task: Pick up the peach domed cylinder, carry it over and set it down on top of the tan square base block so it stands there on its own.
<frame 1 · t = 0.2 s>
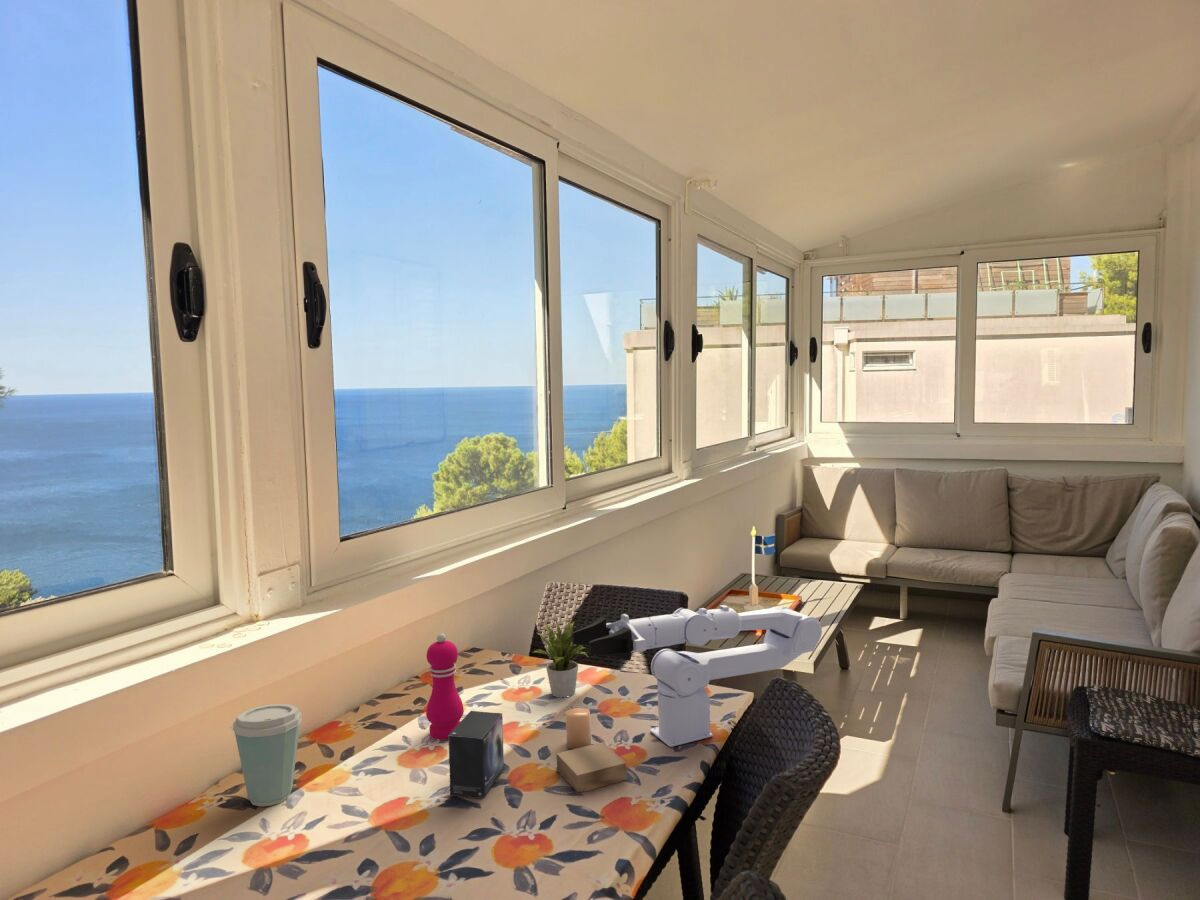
hand: (581, 643, 141), 21 cm above the table, tool horizontal, fingers open, 7 cm apart
pepper mill: (446, 734, 155), on the table
small box: (478, 783, 135), on the table
house plant: (565, 696, 172), on the table
disposable coffee cup: (272, 798, 132), on the table
tan square base block: (591, 774, 136), on the table
peach domed cylinder: (578, 744, 148), on the table
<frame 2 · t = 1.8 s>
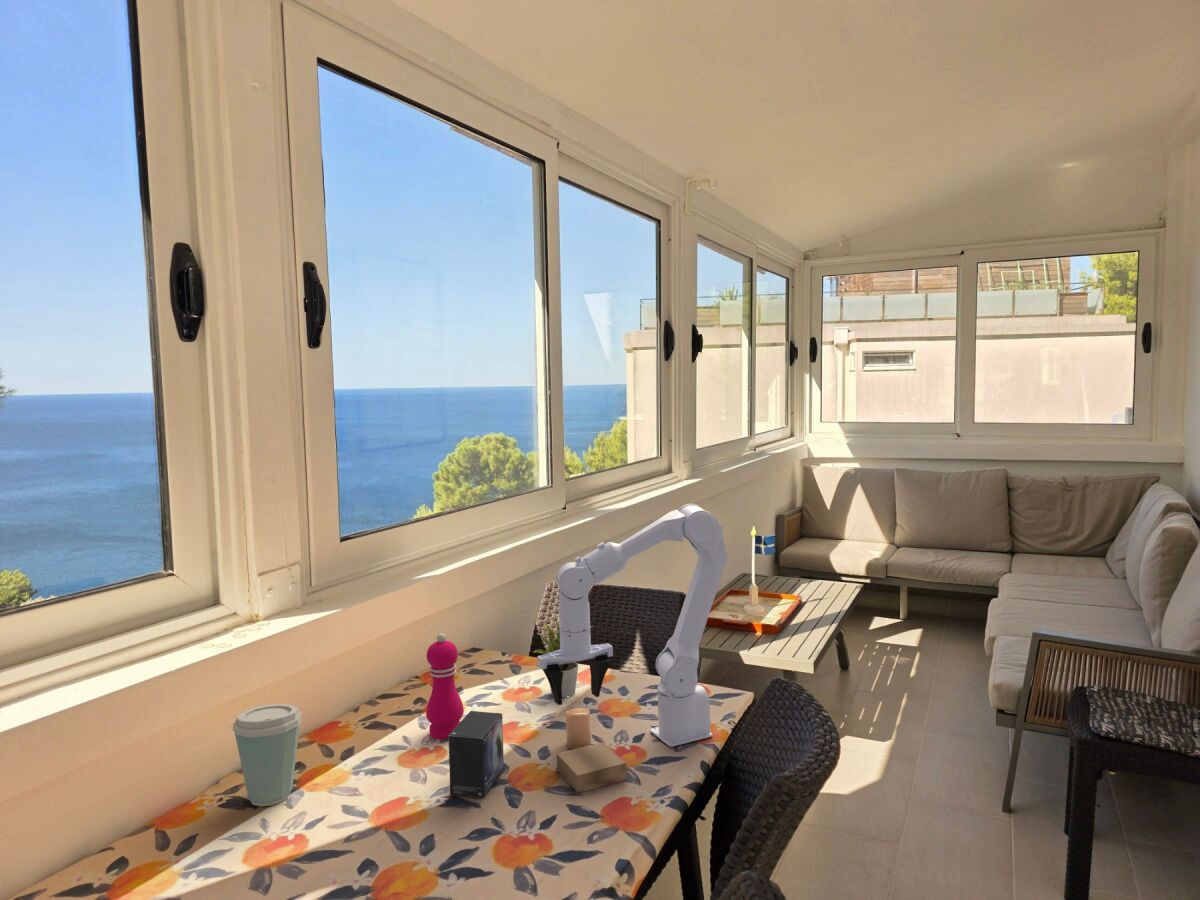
hand: (577, 699, 148), 9 cm above the table, tool pointing down, fingers open, 7 cm apart
nothing on the table moved.
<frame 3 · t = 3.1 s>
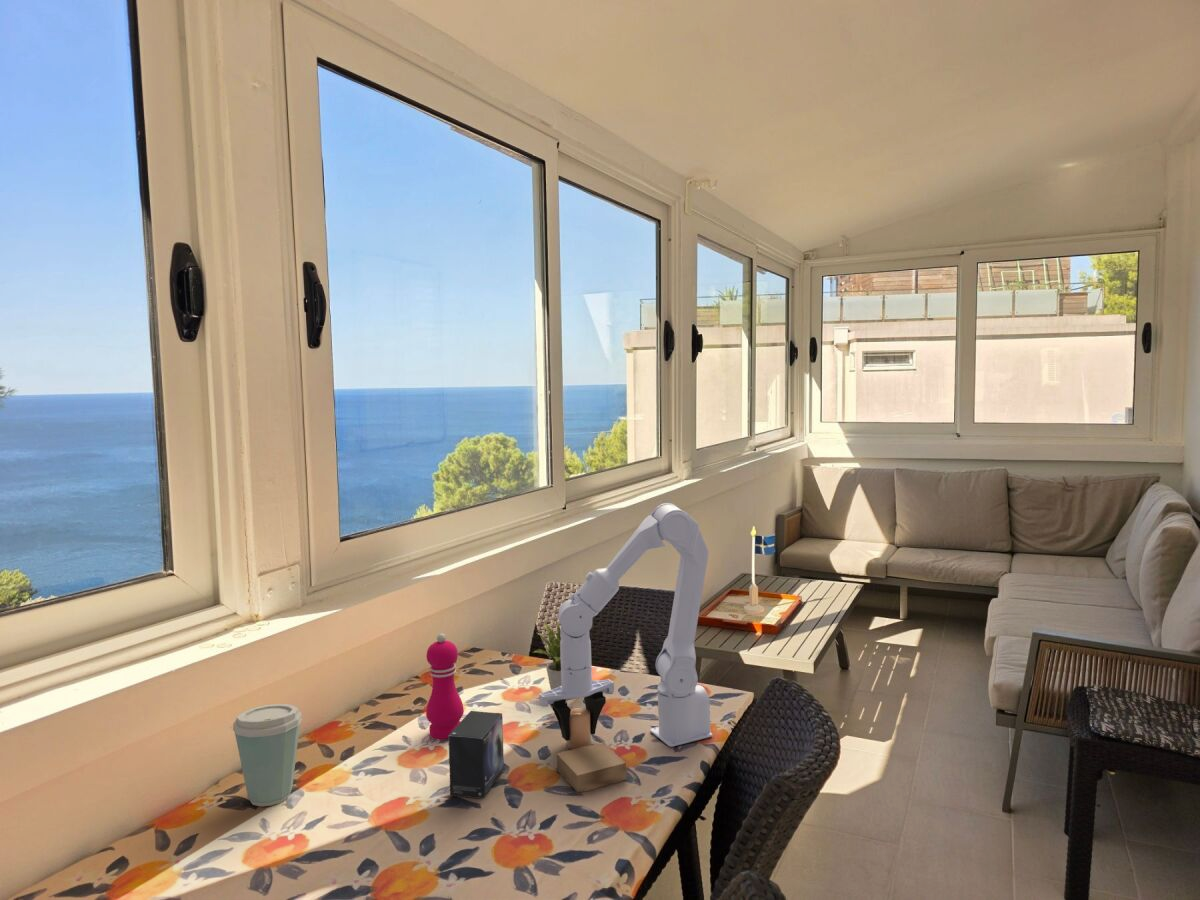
hand: (578, 735, 148), 2 cm above the table, tool pointing down, fingers closed on peach domed cylinder, 5 cm apart
peach domed cylinder: (578, 743, 148), on the table, touching gripper
everything else where it was.
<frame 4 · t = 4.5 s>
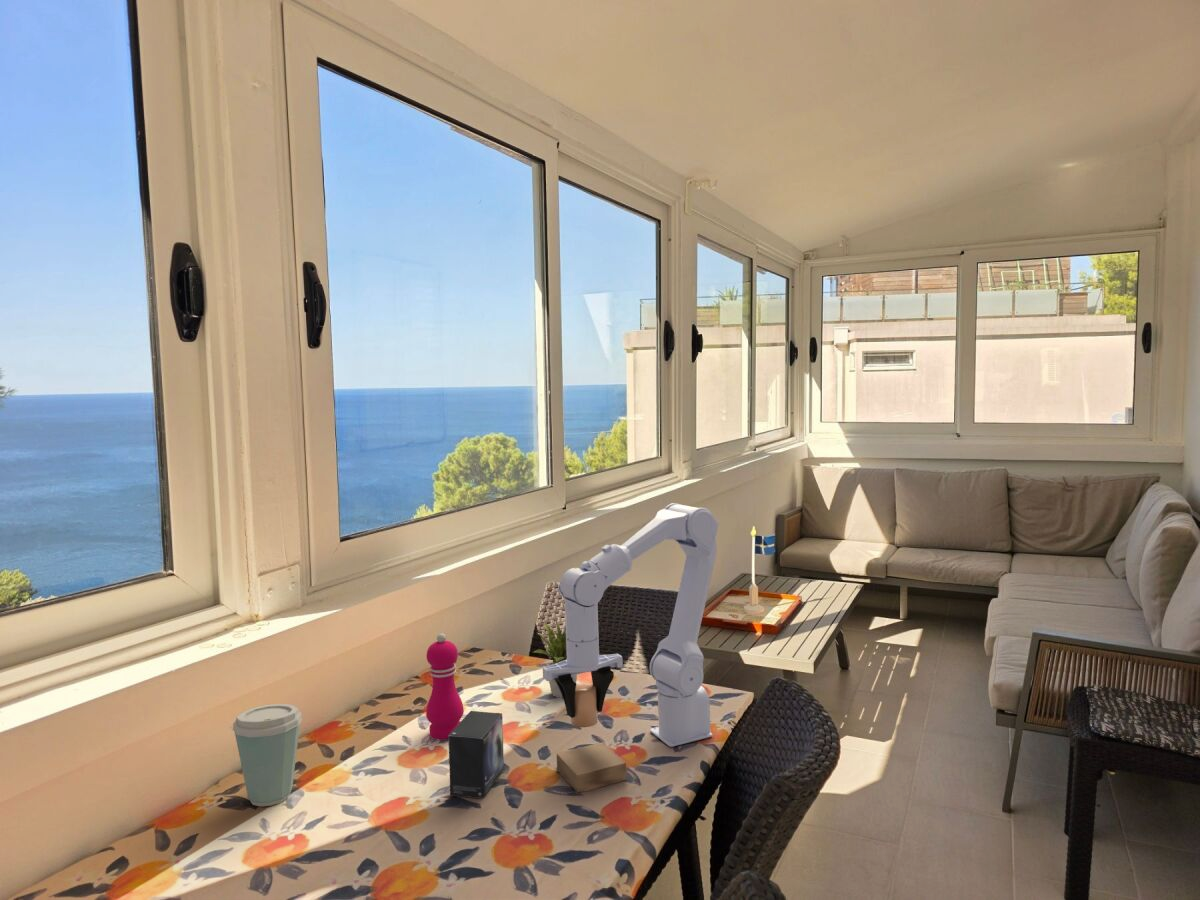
hand: (584, 712, 139), 9 cm above the table, tool pointing down, fingers closed on peach domed cylinder, 5 cm apart
peach domed cylinder: (584, 722, 140), point 8 cm above the table, touching gripper
everything else where it was.
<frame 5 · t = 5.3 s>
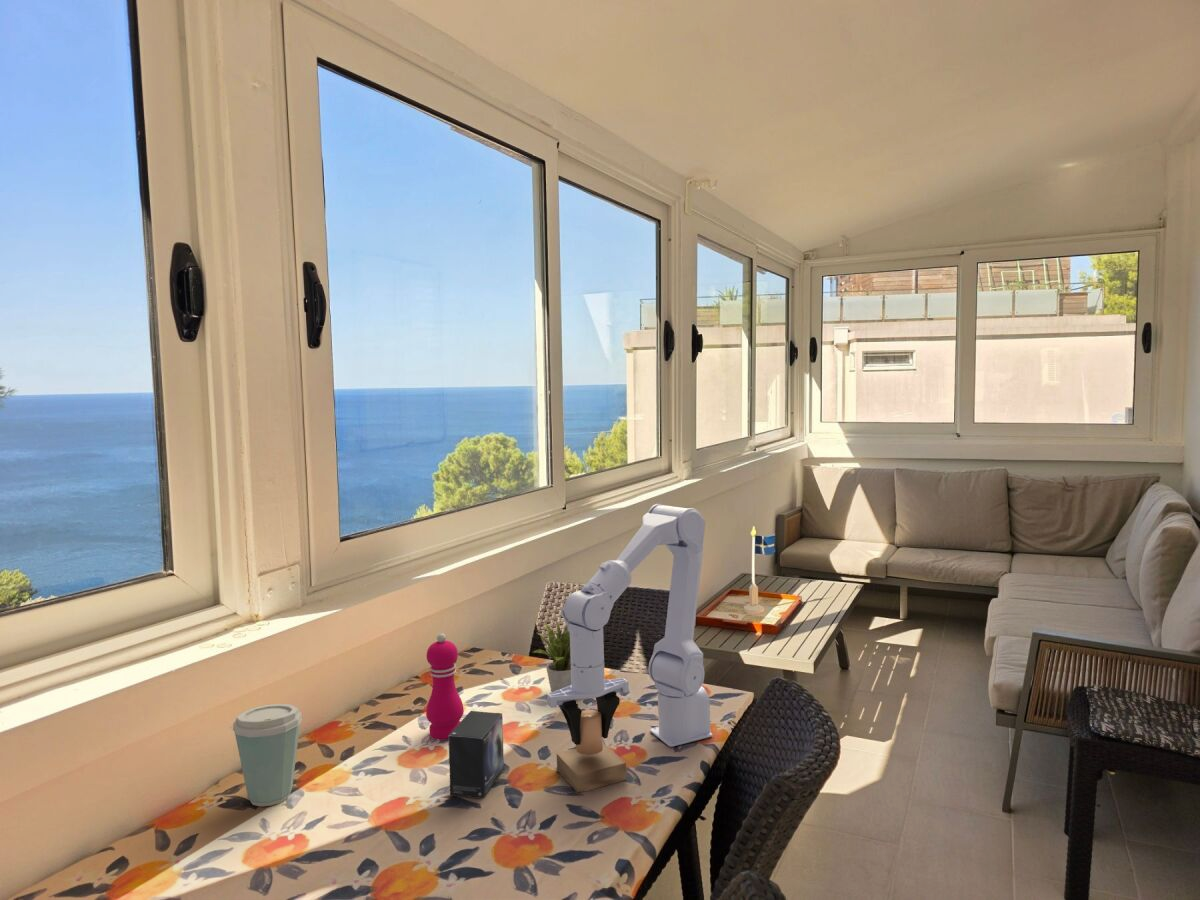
hand: (589, 739, 136), 6 cm above the table, tool pointing down, fingers closed on peach domed cylinder, 5 cm apart
peach domed cylinder: (589, 749, 136), point 4 cm above the table, touching gripper
everything else where it was.
when the fingers open (6 cm above the table, at t = 5.9 s): peach domed cylinder stays where it is, resting on tan square base block.
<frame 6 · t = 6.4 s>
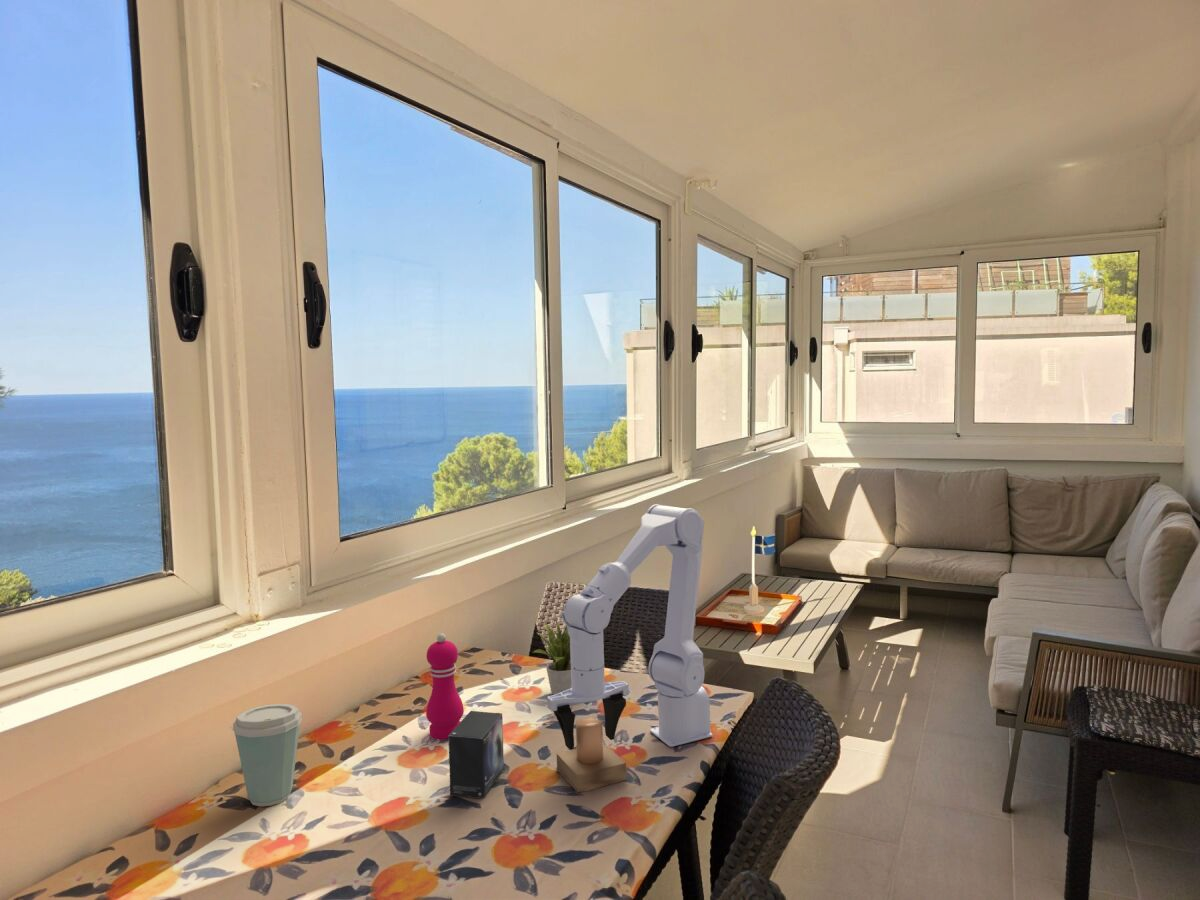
hand: (590, 742, 136), 6 cm above the table, tool pointing down, fingers open, 7 cm apart
peach domed cylinder: (590, 757, 136), point 3 cm above the table, touching tan square base block
everything else where it was.
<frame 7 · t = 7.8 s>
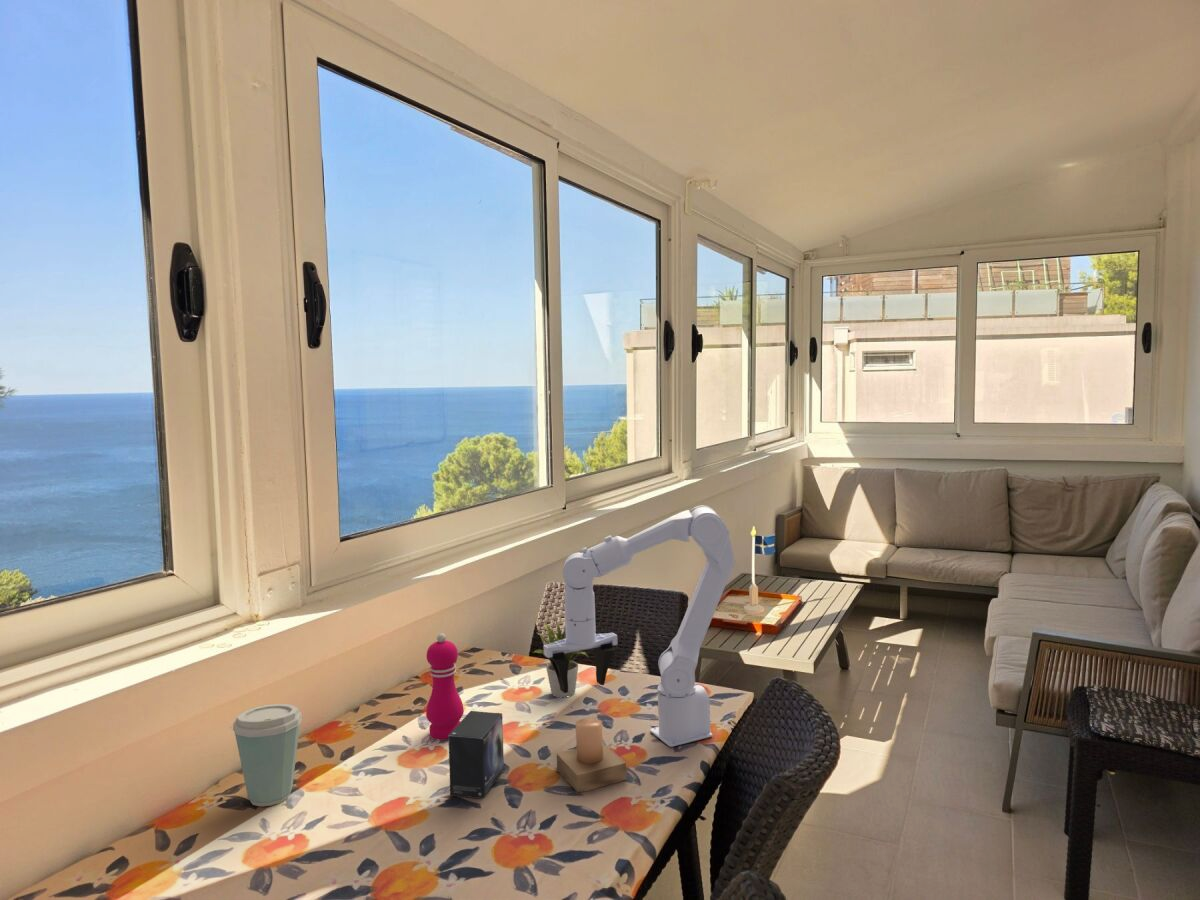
hand: (582, 687, 150), 10 cm above the table, tool pointing down, fingers open, 7 cm apart
nothing on the table moved.
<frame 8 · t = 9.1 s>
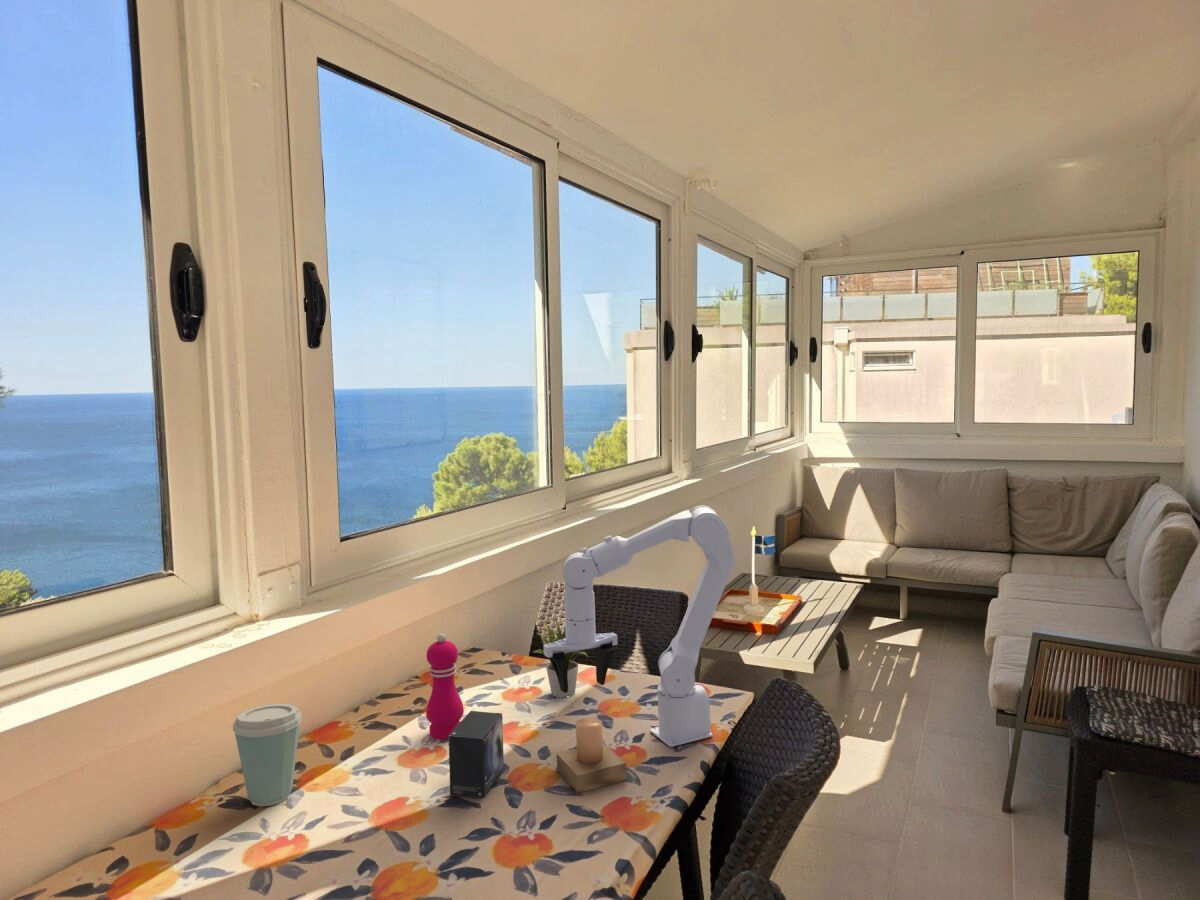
hand: (582, 687, 150), 10 cm above the table, tool pointing down, fingers open, 7 cm apart
nothing on the table moved.
at the end: peach domed cylinder 0.3 cm off-centre on the tan square base block, point 3.0 cm above the tan square base block's base; peach domed cylinder tilted 0°; peach domed cylinder touching tan square base block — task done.
